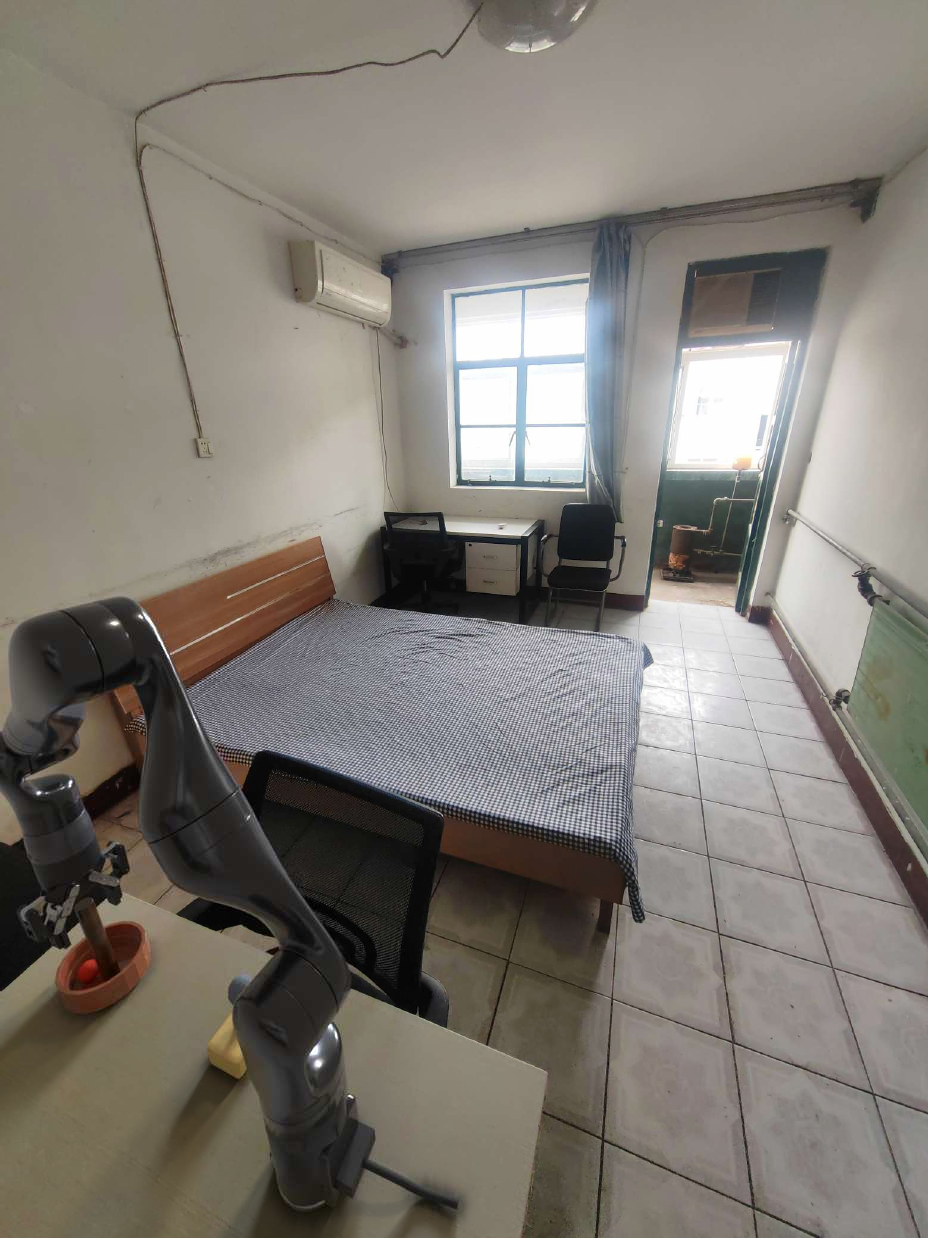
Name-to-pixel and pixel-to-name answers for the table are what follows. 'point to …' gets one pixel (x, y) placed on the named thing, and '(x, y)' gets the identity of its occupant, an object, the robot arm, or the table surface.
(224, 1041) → the rubber stamp
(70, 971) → the bowl
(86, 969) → the ball
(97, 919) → the stick
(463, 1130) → the table surface
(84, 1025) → the table surface
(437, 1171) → the table surface
